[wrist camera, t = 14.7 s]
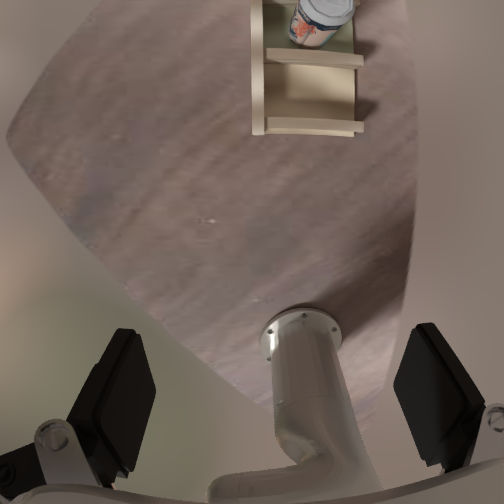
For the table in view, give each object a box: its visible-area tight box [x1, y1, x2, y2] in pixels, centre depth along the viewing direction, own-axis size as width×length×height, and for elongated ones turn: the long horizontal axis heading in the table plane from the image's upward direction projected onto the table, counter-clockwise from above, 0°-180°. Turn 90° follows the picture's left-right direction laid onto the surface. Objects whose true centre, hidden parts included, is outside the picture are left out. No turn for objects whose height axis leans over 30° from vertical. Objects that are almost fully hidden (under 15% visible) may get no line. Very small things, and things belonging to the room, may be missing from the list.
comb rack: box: [251, 0, 364, 137], centre depth 30 cm, size 18×12×5 cm, turn 1°
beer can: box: [288, 0, 355, 50], centre depth 24 cm, size 5×5×12 cm
